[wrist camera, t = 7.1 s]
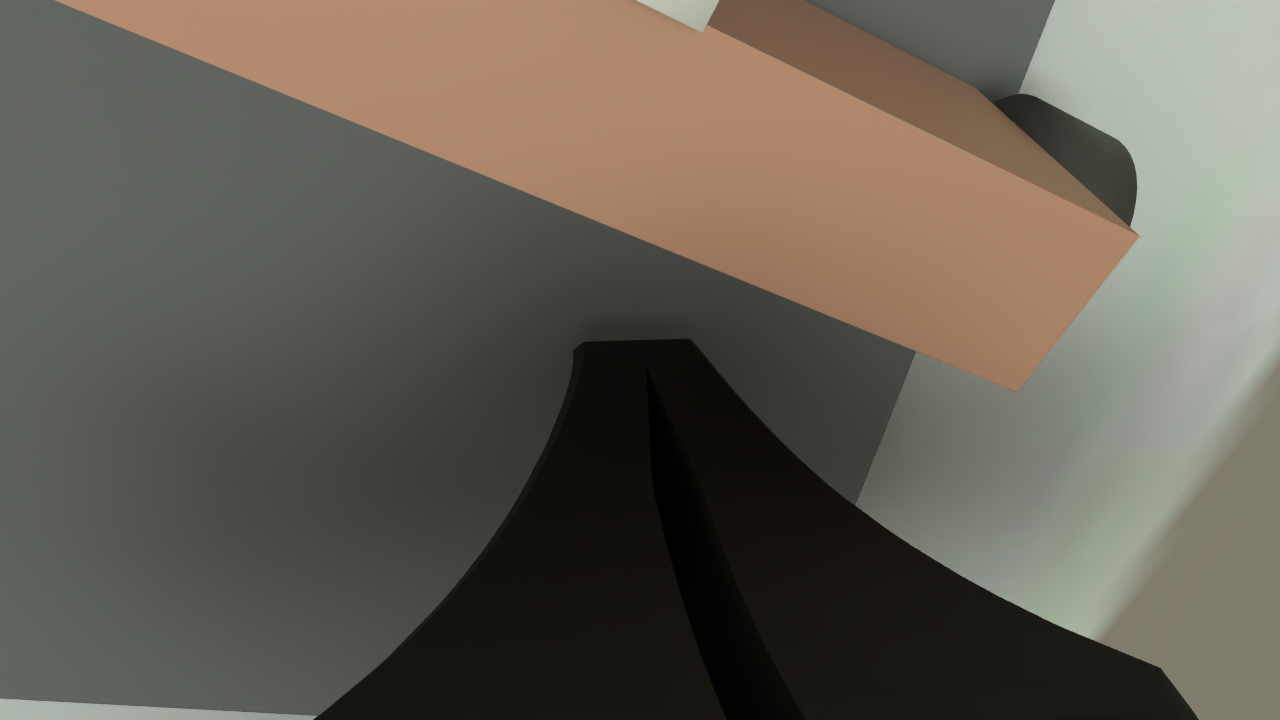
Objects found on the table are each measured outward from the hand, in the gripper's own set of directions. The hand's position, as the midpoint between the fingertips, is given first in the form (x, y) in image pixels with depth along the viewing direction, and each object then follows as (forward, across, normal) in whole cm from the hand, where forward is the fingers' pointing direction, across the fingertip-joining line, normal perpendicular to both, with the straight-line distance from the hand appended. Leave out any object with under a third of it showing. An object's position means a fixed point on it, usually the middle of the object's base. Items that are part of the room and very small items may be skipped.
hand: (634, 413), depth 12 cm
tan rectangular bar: (+1, 0, -5) cm, 5 cm away
